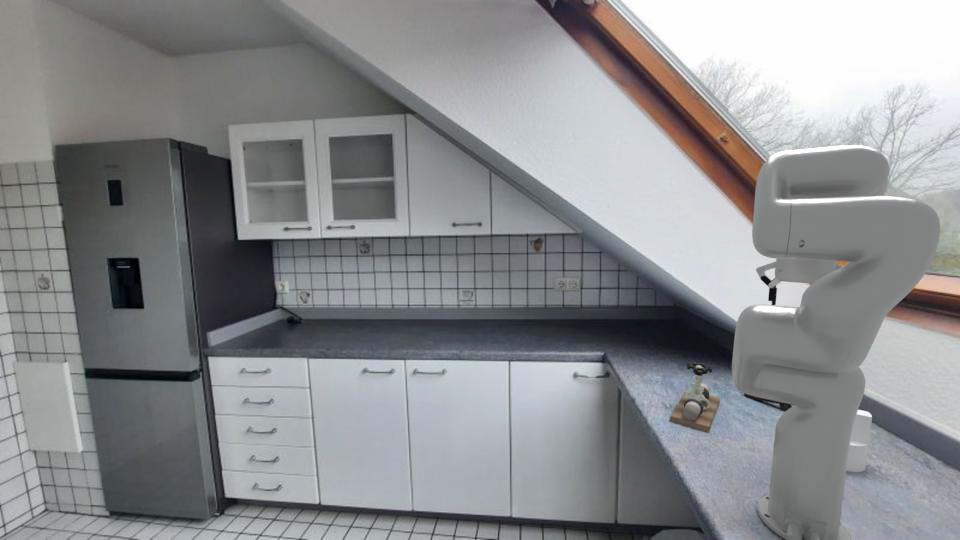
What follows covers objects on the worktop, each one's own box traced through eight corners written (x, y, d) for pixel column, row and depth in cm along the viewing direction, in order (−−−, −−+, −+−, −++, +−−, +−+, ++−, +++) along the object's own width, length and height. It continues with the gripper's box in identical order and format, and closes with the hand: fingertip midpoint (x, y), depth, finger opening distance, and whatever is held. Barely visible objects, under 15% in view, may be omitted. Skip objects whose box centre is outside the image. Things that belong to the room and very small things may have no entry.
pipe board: (708, 432, 96) (710, 411, 96) (670, 421, 102) (671, 401, 101) (719, 402, 113) (721, 384, 112) (686, 394, 118) (687, 377, 118)
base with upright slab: (814, 462, 84) (820, 412, 83) (808, 443, 92) (812, 396, 90) (871, 477, 79) (878, 423, 78) (859, 455, 87) (865, 406, 85)
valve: (702, 400, 110) (704, 361, 109) (714, 412, 104) (717, 370, 103) (679, 400, 111) (681, 361, 109) (690, 411, 104) (693, 370, 103)
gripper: (758, 231, 86) (752, 305, 88) (865, 232, 75) (856, 316, 77) (760, 231, 92) (754, 300, 94) (860, 231, 81) (851, 309, 83)
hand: (800, 307), depth 85 cm, fingers open, 9 cm apart
